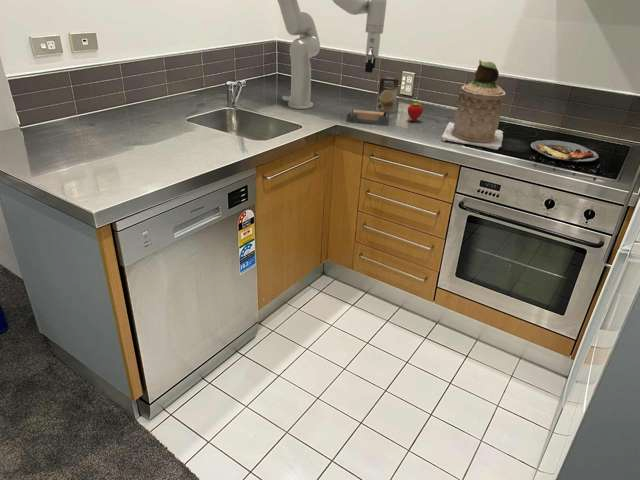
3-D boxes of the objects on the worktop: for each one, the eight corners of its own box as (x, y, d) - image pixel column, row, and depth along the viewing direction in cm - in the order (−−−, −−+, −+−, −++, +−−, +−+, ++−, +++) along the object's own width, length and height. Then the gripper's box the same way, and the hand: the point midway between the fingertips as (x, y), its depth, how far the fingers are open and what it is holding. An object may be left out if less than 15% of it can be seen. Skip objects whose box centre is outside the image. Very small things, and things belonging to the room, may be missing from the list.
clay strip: (382, 121, 222) (383, 114, 221) (352, 118, 224) (352, 111, 222) (383, 118, 226) (383, 112, 224) (353, 116, 227) (353, 109, 226)
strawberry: (403, 119, 229) (406, 98, 224) (417, 118, 231) (420, 97, 226) (409, 123, 224) (412, 101, 219) (423, 122, 227) (427, 100, 222)
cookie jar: (501, 151, 197) (520, 68, 181) (439, 142, 204) (453, 61, 187) (503, 133, 217) (521, 58, 201) (447, 126, 224) (460, 52, 208)
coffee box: (376, 111, 239) (379, 78, 231) (376, 108, 245) (379, 75, 236) (394, 113, 238) (398, 79, 230) (394, 109, 244) (398, 76, 236)
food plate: (610, 163, 189) (613, 155, 187) (560, 168, 183) (563, 159, 181) (564, 143, 210) (567, 136, 208) (519, 147, 204) (520, 139, 202)
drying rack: (346, 121, 222) (346, 114, 220) (348, 115, 231) (349, 108, 229) (387, 125, 220) (388, 118, 218) (388, 119, 228) (389, 112, 227)
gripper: (381, 32, 201) (376, 75, 210) (384, 27, 216) (379, 67, 224) (363, 30, 202) (359, 73, 211) (368, 25, 217) (363, 65, 225)
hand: (369, 70), depth 218 cm, fingers open, 9 cm apart
